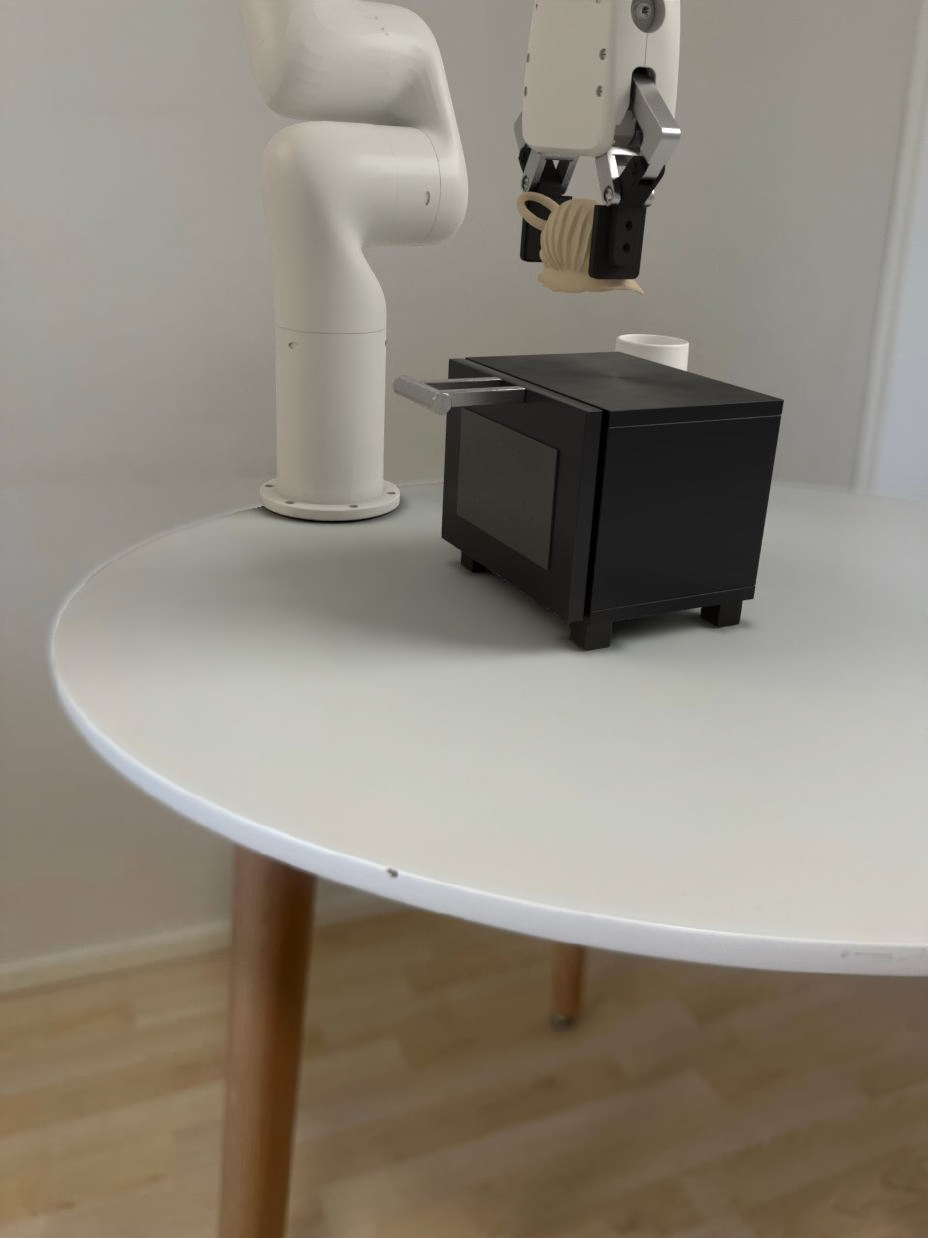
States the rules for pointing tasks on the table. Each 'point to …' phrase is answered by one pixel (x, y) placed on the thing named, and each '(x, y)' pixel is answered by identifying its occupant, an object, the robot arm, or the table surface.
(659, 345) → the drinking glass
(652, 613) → the oven
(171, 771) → the table surface
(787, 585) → the table surface
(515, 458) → the oven door
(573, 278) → the decorative ornament
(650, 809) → the table surface
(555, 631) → the table surface
